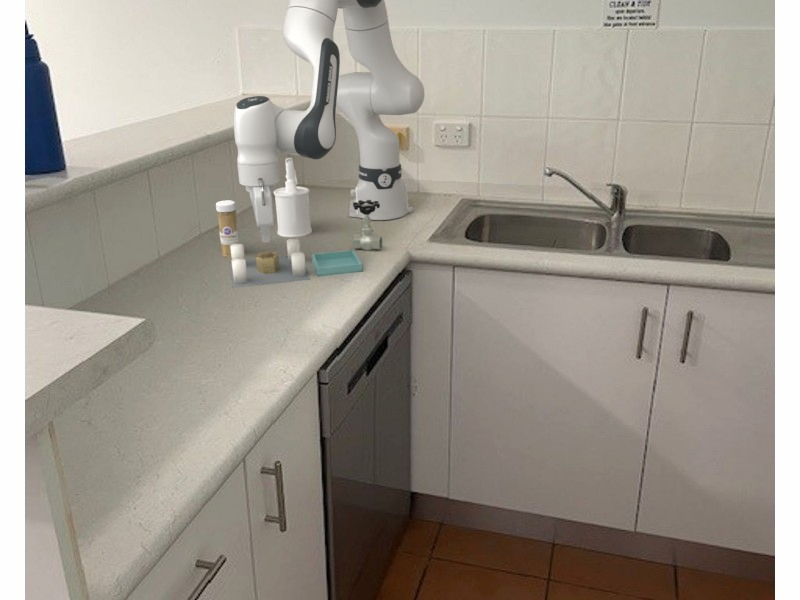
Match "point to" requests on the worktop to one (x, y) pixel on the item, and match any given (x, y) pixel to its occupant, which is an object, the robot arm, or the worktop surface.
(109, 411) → the worktop surface
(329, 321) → the worktop surface
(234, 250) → the spacer
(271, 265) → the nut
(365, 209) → the valve
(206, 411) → the worktop surface
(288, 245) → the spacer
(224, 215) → the sprinkles bottle
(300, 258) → the cylinder
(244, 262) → the spacer
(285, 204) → the white spouted canister
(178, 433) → the worktop surface
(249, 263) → the mat
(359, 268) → the tray
